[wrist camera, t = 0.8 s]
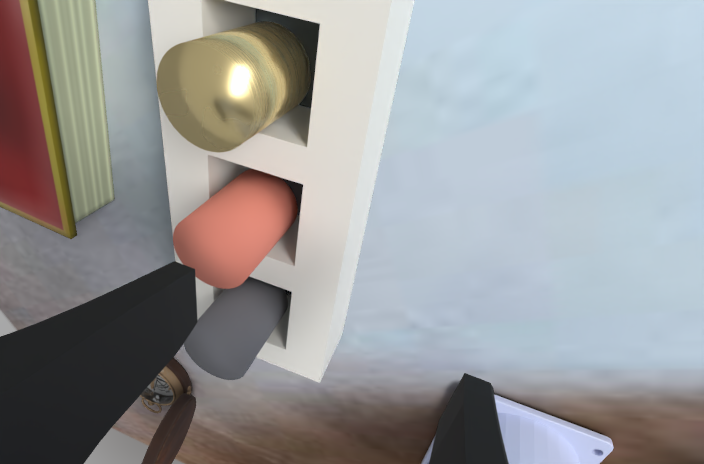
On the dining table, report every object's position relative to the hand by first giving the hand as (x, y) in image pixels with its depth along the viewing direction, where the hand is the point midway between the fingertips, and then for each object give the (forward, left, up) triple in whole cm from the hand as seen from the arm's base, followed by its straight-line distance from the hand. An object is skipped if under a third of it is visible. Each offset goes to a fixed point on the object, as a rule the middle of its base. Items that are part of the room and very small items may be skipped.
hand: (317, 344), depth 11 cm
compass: (-23, +14, -10) cm, 28 cm away
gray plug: (-7, +5, -7) cm, 11 cm away
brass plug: (+4, +5, -7) cm, 10 cm away
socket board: (-1, +5, -10) cm, 11 cm away
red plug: (-1, +5, -7) cm, 9 cm away
